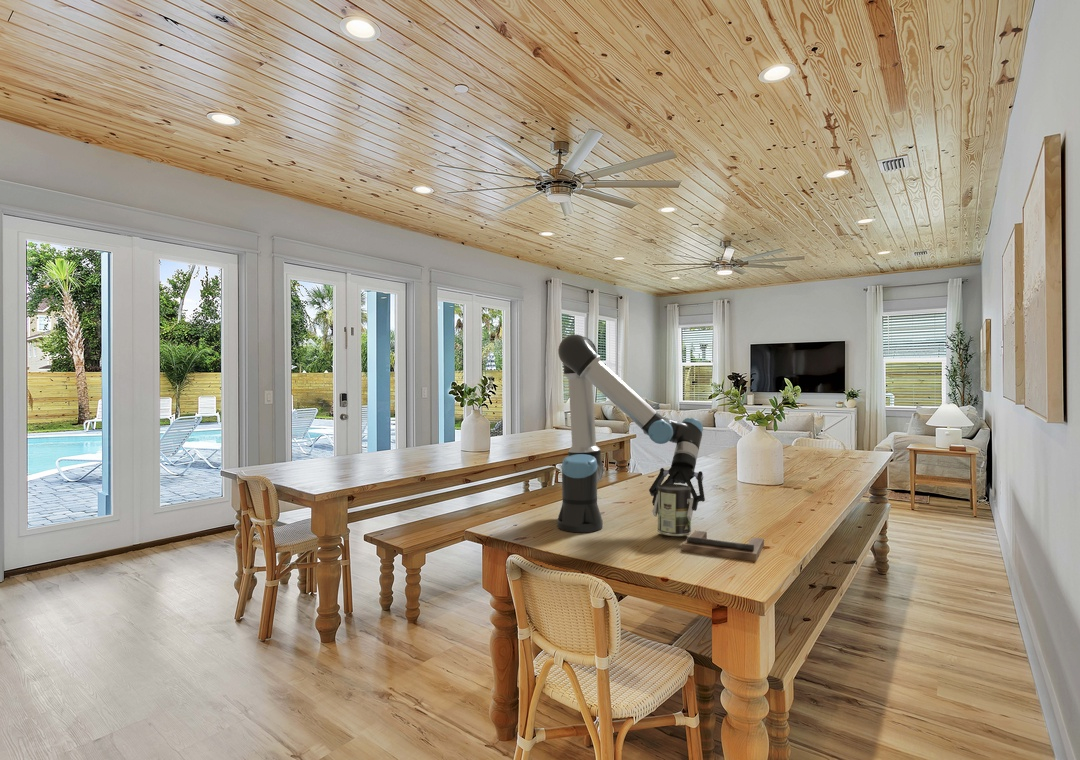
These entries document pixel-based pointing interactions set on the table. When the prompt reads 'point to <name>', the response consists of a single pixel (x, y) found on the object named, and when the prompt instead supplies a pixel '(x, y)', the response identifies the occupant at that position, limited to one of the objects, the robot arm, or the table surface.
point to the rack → (723, 547)
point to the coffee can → (673, 509)
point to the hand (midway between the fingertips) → (671, 516)
